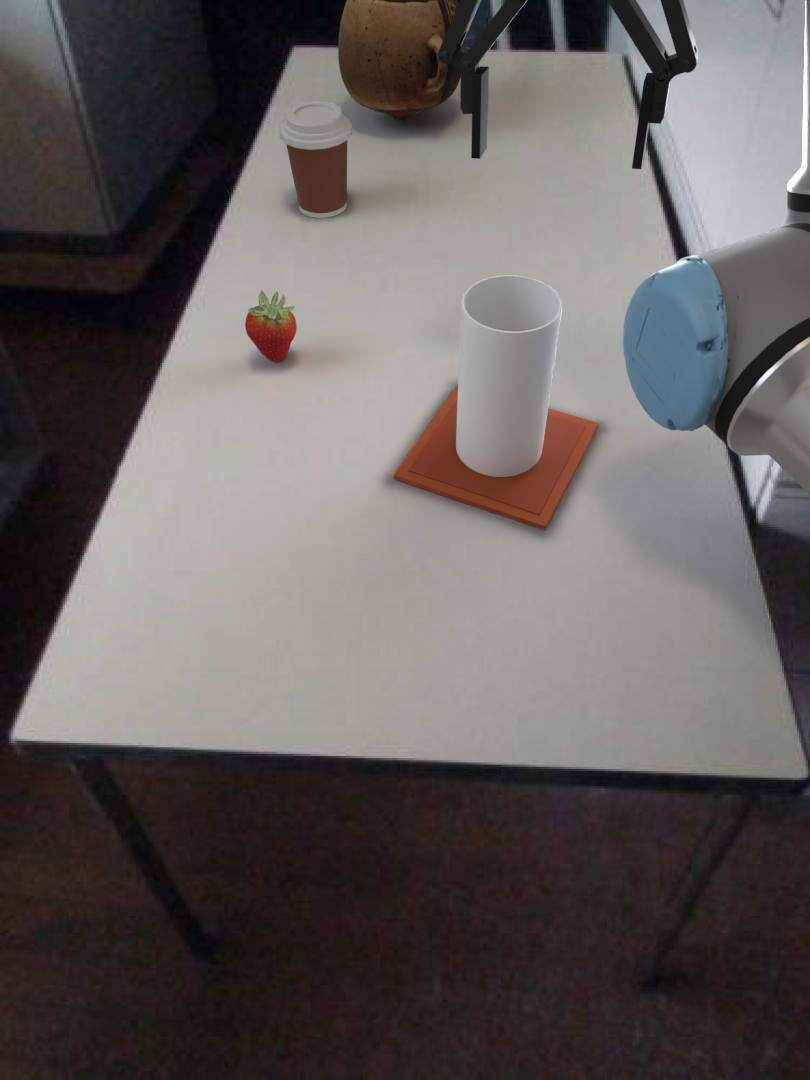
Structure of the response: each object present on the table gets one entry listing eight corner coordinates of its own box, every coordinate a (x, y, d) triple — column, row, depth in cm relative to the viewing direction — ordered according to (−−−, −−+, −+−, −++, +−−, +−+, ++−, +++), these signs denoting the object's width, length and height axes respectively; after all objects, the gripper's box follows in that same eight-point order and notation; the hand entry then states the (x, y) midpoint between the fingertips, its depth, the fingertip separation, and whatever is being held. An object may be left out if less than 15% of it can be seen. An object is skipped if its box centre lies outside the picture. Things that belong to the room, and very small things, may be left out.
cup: (497, 490, 78) (510, 346, 66) (438, 443, 82) (440, 299, 70) (560, 449, 81) (584, 305, 69) (500, 406, 85) (512, 263, 73)
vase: (330, 98, 135) (311, -139, 113) (439, 83, 138) (442, -151, 115) (361, 158, 122) (347, -97, 99) (482, 141, 125) (495, -112, 102)
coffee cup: (361, 189, 116) (356, 97, 107) (352, 224, 110) (345, 130, 101) (295, 187, 117) (284, 96, 108) (282, 222, 111) (269, 128, 102)
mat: (598, 427, 84) (599, 422, 84) (545, 530, 75) (546, 525, 75) (458, 386, 89) (459, 380, 88) (393, 479, 80) (393, 473, 79)
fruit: (292, 379, 90) (282, 314, 84) (244, 372, 91) (231, 308, 85) (307, 350, 93) (299, 285, 87) (260, 343, 94) (249, 279, 88)
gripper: (773, -173, 58) (710, 152, 73) (422, -163, 64) (428, 135, 79) (775, -164, 53) (706, 184, 67) (392, -154, 59) (404, 164, 73)
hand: (556, 158), depth 73 cm, fingers open, 13 cm apart
